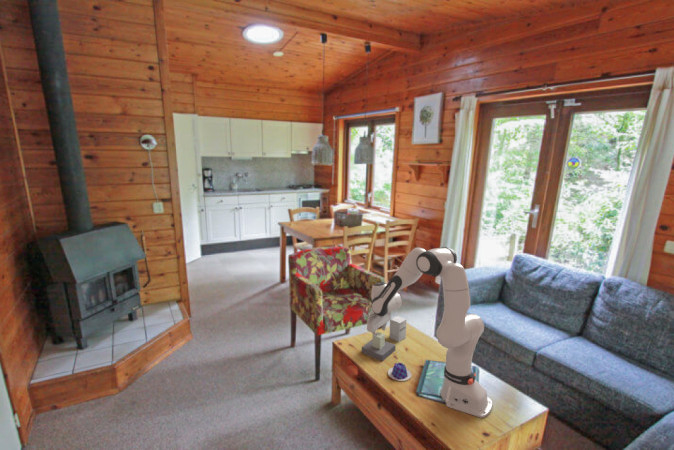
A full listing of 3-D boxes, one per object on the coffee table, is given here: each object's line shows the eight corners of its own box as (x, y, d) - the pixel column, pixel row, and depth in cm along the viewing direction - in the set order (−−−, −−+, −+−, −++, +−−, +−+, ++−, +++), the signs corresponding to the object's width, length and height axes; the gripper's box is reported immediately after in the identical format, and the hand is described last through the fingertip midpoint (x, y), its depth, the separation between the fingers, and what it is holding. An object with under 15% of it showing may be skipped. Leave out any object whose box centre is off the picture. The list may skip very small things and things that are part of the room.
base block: (395, 351, 200) (395, 344, 199) (382, 362, 190) (382, 355, 189) (375, 343, 209) (375, 337, 208) (361, 353, 198) (361, 347, 198)
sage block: (384, 345, 199) (384, 334, 197) (380, 349, 195) (380, 338, 194) (377, 342, 202) (377, 331, 200) (372, 346, 198) (372, 335, 196)
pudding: (415, 380, 174) (415, 370, 173) (393, 383, 171) (393, 374, 170) (405, 366, 185) (405, 357, 184) (384, 369, 183) (384, 360, 182)
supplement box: (398, 342, 208) (399, 323, 206) (389, 337, 214) (389, 319, 211) (406, 338, 213) (406, 319, 211) (396, 333, 219) (397, 315, 216)
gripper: (373, 318, 184) (373, 342, 187) (393, 305, 200) (393, 327, 202) (364, 315, 188) (364, 338, 191) (384, 303, 204) (383, 324, 206)
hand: (379, 332), depth 197 cm, fingers open, 8 cm apart
